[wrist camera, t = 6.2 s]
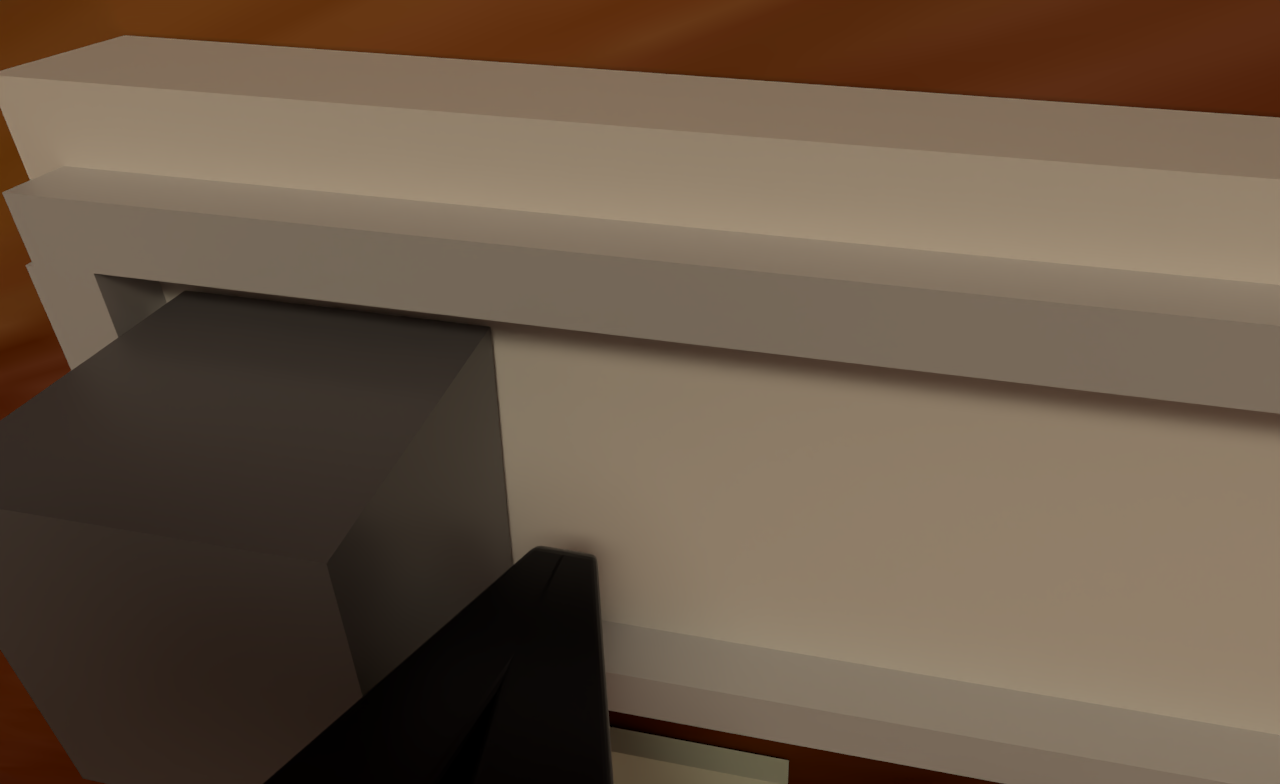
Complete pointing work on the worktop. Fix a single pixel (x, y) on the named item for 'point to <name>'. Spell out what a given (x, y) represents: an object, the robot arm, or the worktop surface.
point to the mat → (687, 762)
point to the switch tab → (243, 528)
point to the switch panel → (772, 368)
